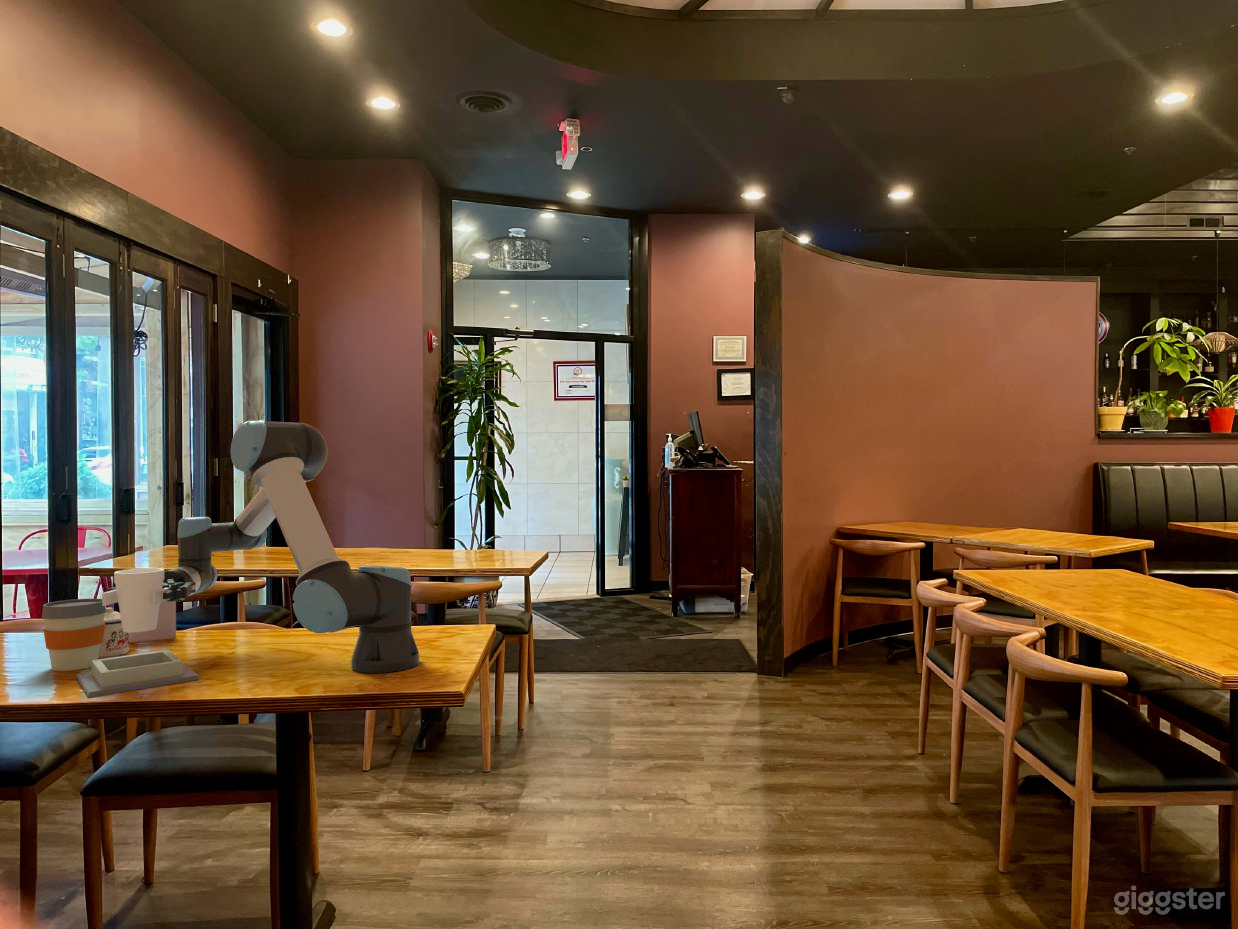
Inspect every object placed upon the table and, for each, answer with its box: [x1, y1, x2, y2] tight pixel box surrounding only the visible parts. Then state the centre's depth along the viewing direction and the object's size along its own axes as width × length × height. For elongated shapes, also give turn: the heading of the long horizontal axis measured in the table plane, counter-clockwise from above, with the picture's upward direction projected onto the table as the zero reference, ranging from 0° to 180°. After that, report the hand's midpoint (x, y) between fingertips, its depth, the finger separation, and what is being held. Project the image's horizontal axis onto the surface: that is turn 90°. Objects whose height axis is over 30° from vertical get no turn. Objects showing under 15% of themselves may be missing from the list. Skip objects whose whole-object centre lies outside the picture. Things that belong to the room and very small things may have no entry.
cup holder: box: [76, 649, 199, 698], centre depth 174 cm, size 20×20×4 cm
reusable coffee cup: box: [41, 598, 107, 672], centre depth 186 cm, size 13×13×15 cm
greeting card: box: [129, 601, 177, 643], centre depth 215 cm, size 11×7×15 cm, turn 82°
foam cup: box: [113, 567, 165, 633], centre depth 174 cm, size 10×9×13 cm
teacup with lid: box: [98, 607, 132, 659], centre depth 200 cm, size 12×9×12 cm
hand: (128, 598), depth 170 cm, fingers closed on foam cup, 9 cm apart
